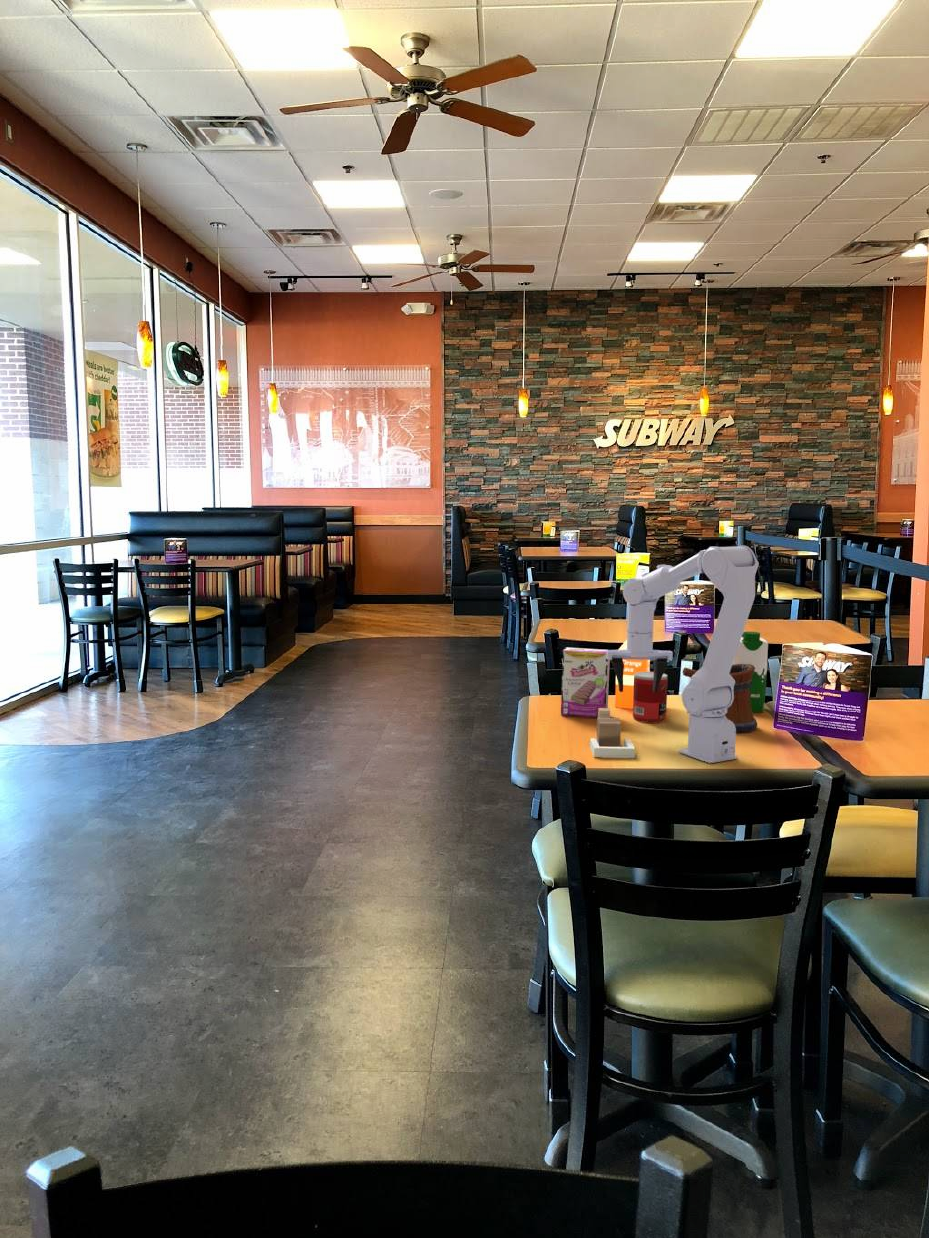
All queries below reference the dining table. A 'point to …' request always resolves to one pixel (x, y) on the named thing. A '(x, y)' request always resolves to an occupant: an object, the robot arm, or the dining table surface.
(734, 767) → the dining table surface
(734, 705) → the mug
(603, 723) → the block
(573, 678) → the candy bar box
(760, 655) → the milk carton
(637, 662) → the orange juice
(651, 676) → the canned food
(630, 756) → the white u-shaped bracket
